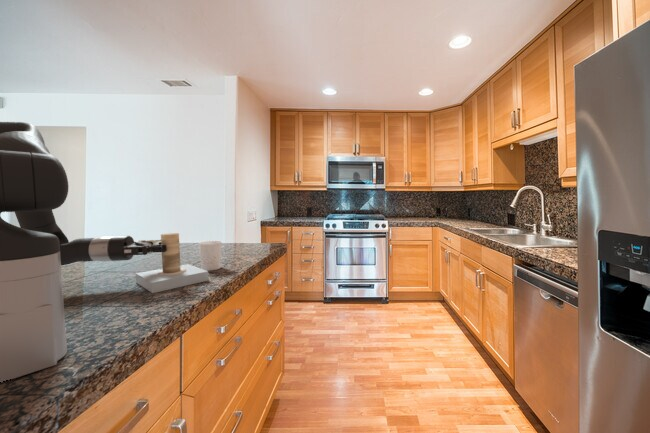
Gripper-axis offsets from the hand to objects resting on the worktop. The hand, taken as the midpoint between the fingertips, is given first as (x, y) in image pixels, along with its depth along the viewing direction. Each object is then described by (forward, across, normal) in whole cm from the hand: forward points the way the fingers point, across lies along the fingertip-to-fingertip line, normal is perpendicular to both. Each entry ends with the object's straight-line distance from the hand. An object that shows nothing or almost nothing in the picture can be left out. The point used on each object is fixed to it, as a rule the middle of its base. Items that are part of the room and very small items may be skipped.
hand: (171, 245), depth 87 cm
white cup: (+9, +15, +12) cm, 21 cm away
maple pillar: (0, 0, +8) cm, 8 cm away
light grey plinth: (0, 0, +12) cm, 12 cm away
